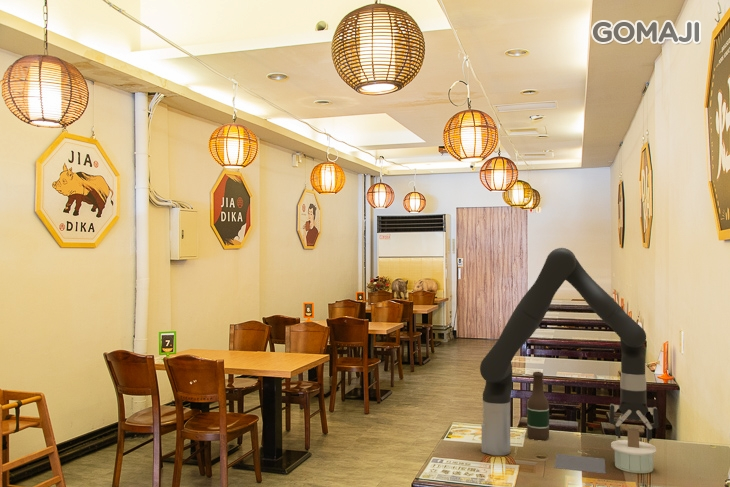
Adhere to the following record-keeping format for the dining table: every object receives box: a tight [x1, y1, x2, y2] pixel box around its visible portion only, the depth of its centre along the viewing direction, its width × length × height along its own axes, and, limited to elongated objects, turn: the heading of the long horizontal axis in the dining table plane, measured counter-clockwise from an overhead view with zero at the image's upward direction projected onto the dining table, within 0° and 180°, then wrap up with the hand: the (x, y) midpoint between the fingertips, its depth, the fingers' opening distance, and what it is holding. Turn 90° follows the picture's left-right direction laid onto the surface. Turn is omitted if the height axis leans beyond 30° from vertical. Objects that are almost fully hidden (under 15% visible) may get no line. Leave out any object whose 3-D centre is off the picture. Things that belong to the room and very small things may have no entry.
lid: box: [610, 427, 657, 456], centre depth 198 cm, size 13×13×6 cm
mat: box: [554, 453, 606, 474], centre depth 201 cm, size 15×15×1 cm
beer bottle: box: [526, 371, 550, 441], centre depth 231 cm, size 8×8×24 cm
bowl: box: [614, 450, 654, 474], centre depth 198 cm, size 11×11×6 cm
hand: (633, 439), depth 198 cm, fingers open, 8 cm apart
